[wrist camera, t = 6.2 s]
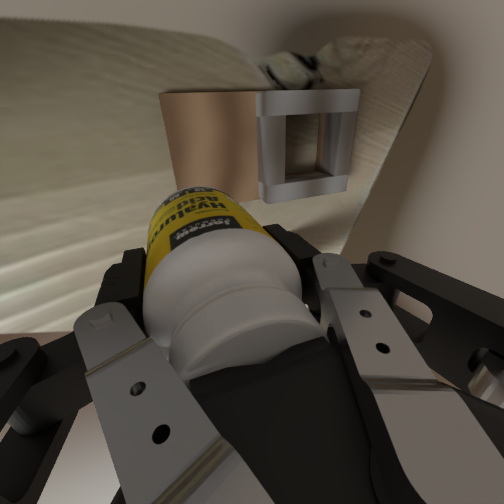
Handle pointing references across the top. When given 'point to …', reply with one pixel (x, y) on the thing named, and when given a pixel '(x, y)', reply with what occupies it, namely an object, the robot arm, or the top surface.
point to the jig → (258, 141)
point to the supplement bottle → (219, 286)
